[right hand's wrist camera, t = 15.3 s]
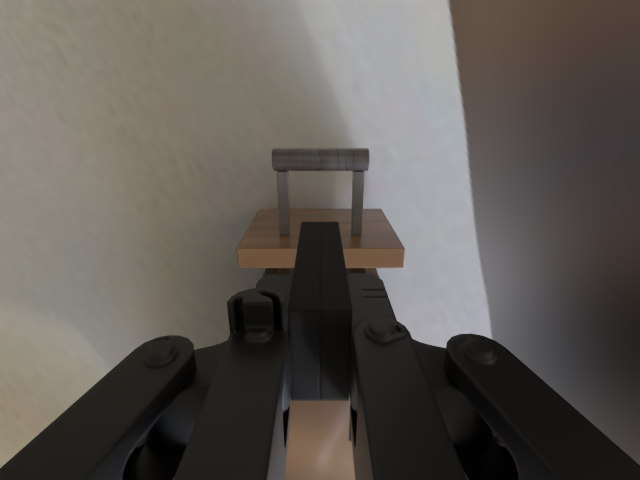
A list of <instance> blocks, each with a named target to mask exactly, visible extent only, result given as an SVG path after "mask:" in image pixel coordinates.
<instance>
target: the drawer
mask: <svg viewBox="0 0 640 480" xmlns="http://www.w3.org/2000/svg"><path fill="white" fill-rule="evenodd" d="M272 167H273V170H274V171H277V186H278V209H260V210H259V211H258V213H257V215H256V216H255V218H254V220H253V222H252V223H251V225H250V227H249V228H248V230H247V232H246V234H245V235H244V237H243V239H242V240H241V242H240V244H239V246H238V247H237V257H238V267H239V268H265V271H264V274H263V277H264V276H265V275H267V274H293V272H294V266H295V259H296V253H297V247H298V241H299V234H300V228H301V222H339V228H340V234H341V241H342V247H343V253H344V259H345V266H346V272H347V273H374V274H375V275H376V276H377V277H379V276H378V273H377V270H376V268H403V261H404V250H405V248H404V247H403V245H402V243H401V242H400V240H399V238H398V236H397V235H396V233H395V231H394V230H393V228H392V226H391V225H390V223H389V221H388V220H387V218H386V216H385V215H384V213H383V211H382V210H381V209H363V190H364V171H367V170H368V168H369V150H368V149H367V148H314V149H273V150H272ZM288 171H353V182H352V209H290V208H289V178H288ZM263 277H262V278H263Z"/></svg>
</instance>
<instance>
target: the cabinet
mask: <svg viewBox="0 0 640 480" xmlns="http://www.w3.org/2000/svg"><path fill="white" fill-rule="evenodd" d="M349 419H350V394H349V401H291V396H290V429H289V440H288V451H287V462H286V473H285V480H355V472H354V461H353V450H352V441H349Z"/></svg>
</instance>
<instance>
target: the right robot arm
mask: <svg viewBox="0 0 640 480" xmlns="http://www.w3.org/2000/svg"><path fill="white" fill-rule="evenodd" d="M227 307H228V316H229V325H230V335H229V338H228V341H225V342H223V343H221V344H218V345H214V346H211V347H206V348H201V349H196V350H194V347H193V343H192V342H191V341H190V340H189V339H188V338H185V337H182V336H170V335H169V336H164V337H158V338H155V339H153V340H150V341H148V342H145V343H144V344H142V345H141V346H139V347H138V348H136V349H135V350H134V351H133V352H131V353H130V354H129V355H128V356H127V357H126V358H125V359H124V360H122V361H121V362H120V363H119V364H118V365H117V366H116V367H114V368H113V369H112V370H111V371H110V372H109V373H108V374H107V375H105V376H104V377H103V378H102V379H101V380H100V381H99V382H98V383H96V384H95V385H94V386H93V387H92V388H91V389H90V390H88V391H87V392H86V393H85V394H84V395H83V396H82V397H81V398H79V399H78V400H77V401H76V402H75V403H74V404H73V405H72V406H70V407H69V408H68V409H67V410H66V411H65V412H64V413H62V414H61V415H60V416H59V417H58V418H57V419H56V420H55V421H53V422H52V423H51V424H50V425H49V426H48V427H47V428H45V429H44V430H43V431H42V432H41V433H40V434H39V435H38V436H36V437H35V438H34V439H33V440H32V441H31V442H30V443H29V444H27V445H26V446H25V447H24V448H23V449H22V450H21V451H19V452H18V453H17V454H16V455H15V456H14V457H13V458H12V459H10V460H9V461H8V462H7V463H6V464H5V465H4V466H3V467H1V468H0V480H285V473H286V462H287V451H288V440H289V429H290V396H291V401H349V394H350V419H349V441H352V450H353V461H354V472H355V480H640V465H639V464H637V463H636V462H635V461H634V460H633V459H632V458H631V457H629V456H628V455H627V454H626V453H625V452H624V451H623V450H621V449H620V448H619V447H618V446H617V445H616V444H615V443H613V442H612V441H611V440H610V439H609V438H608V437H607V436H606V435H604V434H603V433H602V432H601V431H600V430H599V429H597V428H596V427H595V426H594V425H593V424H592V423H591V422H589V421H588V420H587V419H586V418H585V417H584V416H583V415H582V414H580V413H579V412H578V411H577V410H576V409H575V408H574V407H572V406H571V405H570V404H569V403H568V402H567V401H566V400H564V399H563V398H562V397H561V396H560V395H559V394H558V393H556V392H555V391H554V390H553V389H552V388H551V387H550V386H548V385H547V384H546V383H545V382H544V381H543V380H542V379H541V378H539V377H538V376H537V375H536V374H535V373H534V372H532V371H531V370H530V369H529V368H528V367H527V366H526V365H525V364H523V363H522V362H521V361H520V360H519V359H518V358H517V357H515V356H514V355H513V354H512V353H511V352H510V351H509V350H507V349H506V348H505V347H504V346H502V345H501V344H499V343H498V342H496V341H494V340H492V339H489V338H487V337H484V336H480V335H475V334H460V335H457V336H454V337H452V338H451V339H450V340H449V341H448V342H447V347H446V348H441V347H437V346H432V345H428V344H424V343H420V342H418V341H416V340H414V339H412V338H411V335H410V333H409V331H408V330H407V328H406V327H405V326H404V325H402V324H401V323H399V322H398V321H397V320H396V318H395V315H394V312H393V309H392V306H391V304H390V301H389V298H388V295H387V292H386V291H385V287H384V284H383V281H382V280H381V279H380V278H379V277H377V276H376V275H375V274H374V273H347V272H346V266H345V259H344V253H343V247H342V241H341V234H340V228H339V222H301V228H300V234H299V241H298V247H297V253H296V259H295V266H294V272H293V274H267V275H265V276H264V277H263V278H262V279H261V280H259V281H258V282H257V285H256V288H255V289H249V290H245V291H242V292H239V293H238V294H236V295H234V296H232V297H231V298H230V299H229V301H228V302H227Z"/></svg>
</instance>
